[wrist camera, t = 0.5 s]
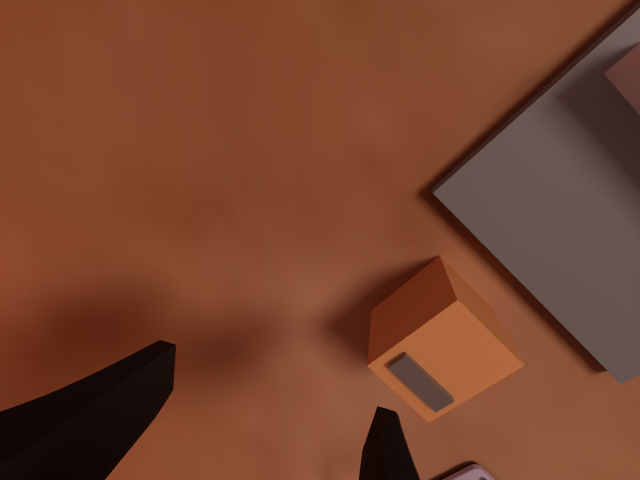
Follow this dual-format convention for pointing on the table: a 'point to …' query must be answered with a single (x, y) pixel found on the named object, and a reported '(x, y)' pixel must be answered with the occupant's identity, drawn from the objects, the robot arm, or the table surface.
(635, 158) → the board
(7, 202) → the table surface
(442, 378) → the block
